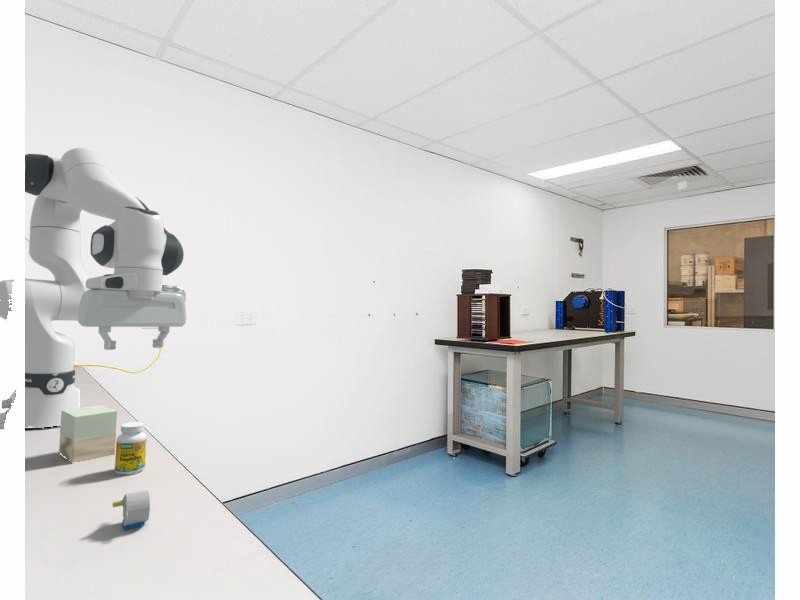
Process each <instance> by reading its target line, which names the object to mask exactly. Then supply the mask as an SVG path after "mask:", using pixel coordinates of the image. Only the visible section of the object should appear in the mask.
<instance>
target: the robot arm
mask: <svg viewBox="0 0 800 600" xmlns="http://www.w3.org/2000/svg"><path fill="white" fill-rule="evenodd" d="M24 155H25V193H26V194H30V195H33V196H34V197H35V196H36V198H35V201H34V203H33V206H32V210H31V216H30V223H29V224H30V225H29V243H28V245H29V248H28V253H29V257H30V258H31V260H32V261H33V262H34V263H36V264H37V265H39V266H40V267H43V268H45V269H47V270H48V271H50V273H51V274H52V275H53V278H54V280H49V279H48V280H47V279H36V278H35V279H32V278H24V279H25V427H28V426H32V427H35V428H42V429H45V428H44V427H51V428H54V427H53V426H57V427H60V425H61V412H62V410H67V409H75V408H81V407H80V406H81V400H80V399H81V394H80V393H81V391H80V388H78V387H77V386H75V382H76V380H75V379H76V377H77V375H76V370H75V369H74V366H75V354H76V344H75V342H74V341H73V340H72V338H70V337H69V336H67V335H65V334H62V333H60V332H57V331H55V330H54V329H53V327H52V322H53V321H70V322H71V321H73V322H74V321H76V322H78V323H79V324H80V325H81V327H87V328H88V327H89V328H91V327H93V328H97V327H98V334H99V335H100V337H101V339H102V340H103V349H104V350H105V351H107V350H108V351H109V350H111V351H112V350H116V348H117V346H116V344H117V340H112V338H111V337H110V334H109V333H111V332H112V327H113V328H116V327H117V328H118V327H119V328H122V327H123V328H126V327H127V328H131V327H133V328H134V327H135V328H136V327H137V328H139V327H141V328H143V327H145V328H146V327H149V328H150V327H152V328H156V327H157V328H158V330H157V331H158V332H160V333H159V334H158V335H157V337H156V338H155V339H154V338H153V339H152V345H151V346H152V348H154V349H159V348H161V349H162V348H163V347H164V340H165V339H166V337H167V336H168V334H169V333H170V328H173V327H174V328H175V327H176V328H177V327H179V328H180V327H181V328H182V327H184V326H185V325H186V323H187V307H186V301H187V294H186V291H185V289H183V288H181V287H180V286H177V285H166V284H163V276H168V275H171V273H174V272H175V271H176V270H177V269H178V268H179V267H180V266H181V265H182V263H183V260H184V249H183V246H182V244H181V242H180V240H179V239H178V238H177V237H176V236H175V234H172V233H171V232H169V231H168V230H167V229H166V228H165V227H164V220H163V216H162V215H161V214H160V213H159V212H158V211H155V210H150V209H149V207H148V206H147V205H146V204H145V203H144V202H143V201H142V200H140V198H139V197H137V196H135V195H134V194H133V193H131V191H130V190H128V189H127V188H126V187H125V186H124V185H123V184H122V183H121V182H120V181H119V180H118V179H117V177H116V176H115V175H114V174H115V173H113V171H112V170H111V168H110V167H109V165H108V164H107V163H106V161H105V160H104V159H102V157H101V156H99V154H97V153H96V152H94V151H93V150H91V149H88V148H82V147H78V148H72V149H69V150H67V151H65V153H63V155H62V157H61V158H58V157H53V156H49V155H46V154H41V153H40V154H39V153H27V154H24ZM82 211H84V212H87V213H88V214H92V215H95V216H98V217H101V218H105V219H109V220H112V221H113V222H112V223H111V224H108V225H107V224H105V225H103V226H100V227H98V228H97V229H96V230H95V231H94V232H92V233H91V239H90V255H91V257H92V258H93V260H94V261H95V262H96V263H97V264H99V265H100V266H101V267H104V268H108V269H109V268H110V269H113V273H111V274H104V275H102V276H101V275H100V276H94V277H90V276H89V274H88V273H87V271H86V269H85V267H84V263H83V261H82V260H83V259H82V254H81V253H82V252H81V213H82ZM12 282H14V279H6V280H5V279H4V280H2V281H0V300H1V301H0V318H2V319H4V321H6V319H7V315H8V311H12V310H11V307H10V308H9V305H12V303H10V304H9V301H8V300H9V299H10V300H11V299H12V298H11V295H9V294H12V287H13V286H12ZM10 302H12V301H10ZM80 325H79V326H80ZM15 392H16V389H14V390H13V392H12V393H11V395H10V396H9V398H7V399H2V401H1V409H3V410H4V409H5V410H6V411H5V412H4V411H3V412H0V430H5V429H4V423H5V420H6V414H7V412H9V410H10V409H11V406H12V405H11V403H14V400H15V397H16V393H15Z"/></svg>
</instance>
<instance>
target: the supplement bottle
mask: <svg viewBox="0 0 800 600" xmlns="http://www.w3.org/2000/svg"><path fill="white" fill-rule="evenodd" d="M144 427H145V425H144V423H143V422H140V421H130V422H126V423H122V424H121V426H120V432H121V434H119V435H118V436H117V437H116V443H115V461H114V462H115V463H114V472H115V473H116V474H117V475H120V476H127V475H128V476H129V475H135V474H137V473H140V472H142V471H144V470H145V468H146V455H147V441H148V440H147V439H148V438H147V434H146V433H145V432H143V431H144V429H145V428H144Z"/></svg>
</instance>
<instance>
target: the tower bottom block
mask: <svg viewBox="0 0 800 600" xmlns="http://www.w3.org/2000/svg"><path fill="white" fill-rule="evenodd" d="M59 433H60V432H59ZM59 435H60V436H59V446H58V447H59V448H58V454H59V453H61V454H62V455H63V456H65V457H66V458H67V459H68V460H70V461H71V462H73V463H74V462H78V463H81V462H80V461H83V462H86V460H87V461H90V460H91V459H92V460H94V459H100V458H105V457H109V456H114V455H116V441H117V432H116V433H113V434H107V435H102V436H97V437H91V438H86V439H80V440H75V441H73V440H72V439H70V438H68V437H67V436H65V435H63V434H61V433H60V434H59ZM68 460H67V461H68ZM70 461H69V462H70ZM71 462H70V463H71ZM73 463H72V464H73ZM74 464H75V463H74Z"/></svg>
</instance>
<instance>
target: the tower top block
mask: <svg viewBox="0 0 800 600" xmlns="http://www.w3.org/2000/svg"><path fill="white" fill-rule="evenodd" d="M117 417H118V410H116V409H113V408H110V407H108V406H106V405H104V404H99V405H92V406H91V405H90V406H84V407H80V408H75V409H67V410H62V412H61V425H60V426H59V427H60V428H59V433H61V434H63V435H65V436H67V437H68V438H70V439H72V440H73V441H75V440H80V439H86V438H91V437H97V436H102V435H107V434H113V433H116V434H117V431H116V430H117V420H118V419H117Z"/></svg>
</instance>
